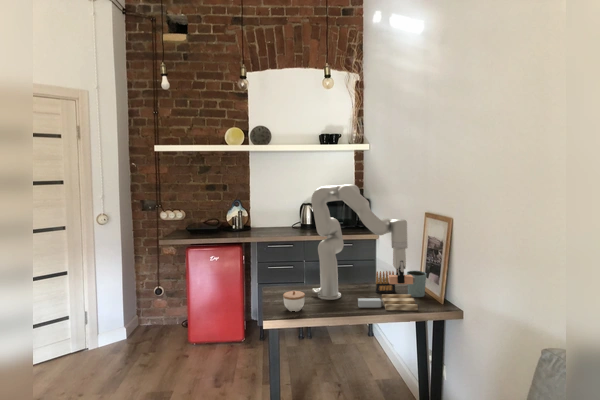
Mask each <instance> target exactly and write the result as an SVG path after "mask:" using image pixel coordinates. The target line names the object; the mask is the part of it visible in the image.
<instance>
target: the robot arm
mask: <svg viewBox="0 0 600 400" xmlns="http://www.w3.org/2000/svg"><path fill="white" fill-rule="evenodd" d="M336 201H342V202H344V204H346V205H347V206H348V207H349V208H350V209H352V210H353V212H355V213H356V214H357V217H358V218H359V220H360V222H362V224H363V225H364V226H365V227H366V228H367V229H368V230H369V231H370V232H371V233H373V234H374V235H377V236H384V235H386V234H390V233H391V249H392V250H393V251H392V265H393V268H394V269H395V275H397V278H398V283H405V280H404V275H405V270H406V268H407V257H406V256H407V255H406V254H407V252H406V249H408V246H409V244H408V222H407V220H406V219H402V218H401V219H400V218H396V219H395V218H394V219H393V218H387V217H385V218H379V217H378V216H377V215H376V214H375V213H374V212H373V211H372V209H371V207H370V202H369V200H368V199H366V198H365V197H364V196H363V195H362V194H361V191H360V188H359V186H357V185H356V184H352V183H351V184H339V185H336V184H335V185H323V186H320V187H318V188H316V189H315V190H314V191H313V193H312V195H311V201H310V202H311V207H312V211H313V217H314V218H313V219H314V222H315V227H316V232H317V234H318V235H319V236H321V237H326V238H324V239H323V240H321V241H320V242H319V244H318V246H317V254H318V259H319V276H320V277H319V278H320V279H319V280H320V282H319V283H320V287H318V288H312V289H311V290H312V293H314V294H317V298H319V299H321V300H327V301H331V300H332V301H333V300H338V299H340V298H341V297H342V293H341V292H339V279H338V278H339V273H338V272H339V270H338V259H337V256H336V254H339V253H341V252H342V251H343V250H344V245H345V244H344V238H343V233H342V228H341V223H340V222H339V220H338V219H336V217H335V218H334V217H331V214H330V210H329V207H328V205H327V204H328V203H329V202H336Z"/></svg>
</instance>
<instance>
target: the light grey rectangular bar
mask: <svg viewBox="0 0 600 400" xmlns="http://www.w3.org/2000/svg"><path fill="white" fill-rule="evenodd" d="M357 305H358V306H357V307H358V308H382V307H384V304H383V300H382V299H381V298H380V297H379V298H375V297H374V298H373V297H372V298H371V297H369V298H365V297H364V298H363V297H362V298H360V297H359V298H358V297H357Z"/></svg>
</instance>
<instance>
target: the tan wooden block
mask: <svg viewBox="0 0 600 400" xmlns="http://www.w3.org/2000/svg"><path fill="white" fill-rule="evenodd" d="M404 280H405V283H398V278H397V275H396V274H394V275H392V274H391V275H389V274H388V283H389V284H395V285H407V284H413V283H415V277H414V276H412V275H407V274H404Z"/></svg>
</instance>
